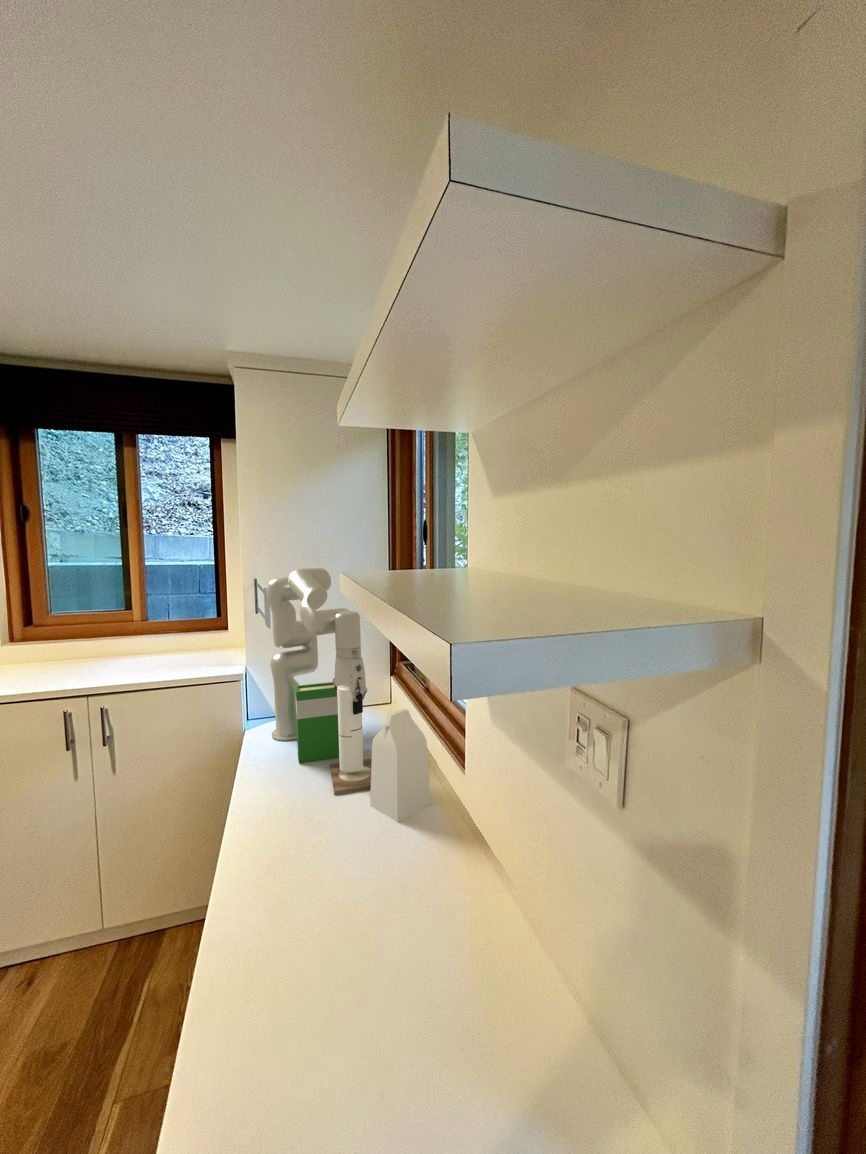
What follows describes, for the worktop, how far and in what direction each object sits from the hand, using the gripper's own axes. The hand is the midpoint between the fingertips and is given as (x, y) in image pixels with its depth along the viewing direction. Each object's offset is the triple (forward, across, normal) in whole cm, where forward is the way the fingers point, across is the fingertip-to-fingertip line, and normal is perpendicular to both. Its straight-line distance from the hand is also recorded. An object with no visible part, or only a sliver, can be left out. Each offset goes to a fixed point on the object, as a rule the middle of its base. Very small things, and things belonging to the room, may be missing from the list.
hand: (350, 709), depth 150 cm
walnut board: (+21, 0, -1) cm, 21 cm away
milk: (+21, -23, 0) cm, 31 cm away
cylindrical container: (+18, 0, 0) cm, 18 cm away
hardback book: (+21, +20, -3) cm, 29 cm away
